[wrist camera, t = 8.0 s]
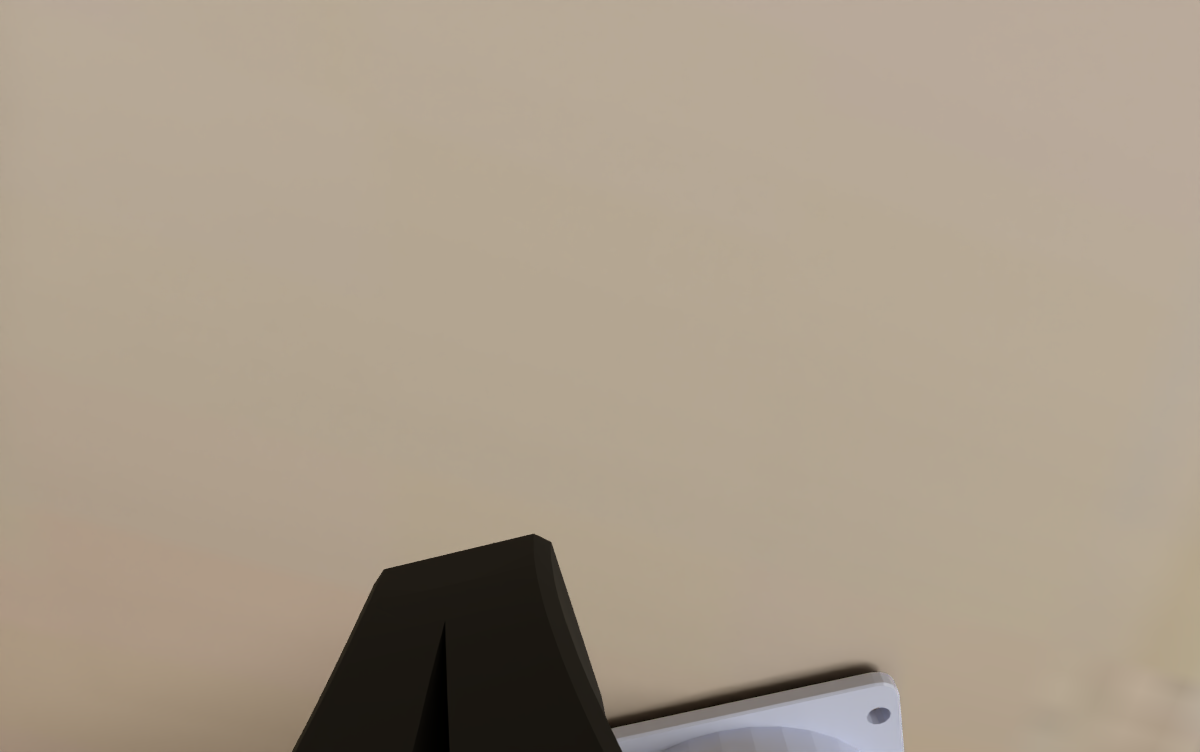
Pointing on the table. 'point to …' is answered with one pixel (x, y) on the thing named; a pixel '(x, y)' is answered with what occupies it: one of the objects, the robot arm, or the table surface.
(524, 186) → the table surface
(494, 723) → the robot arm
